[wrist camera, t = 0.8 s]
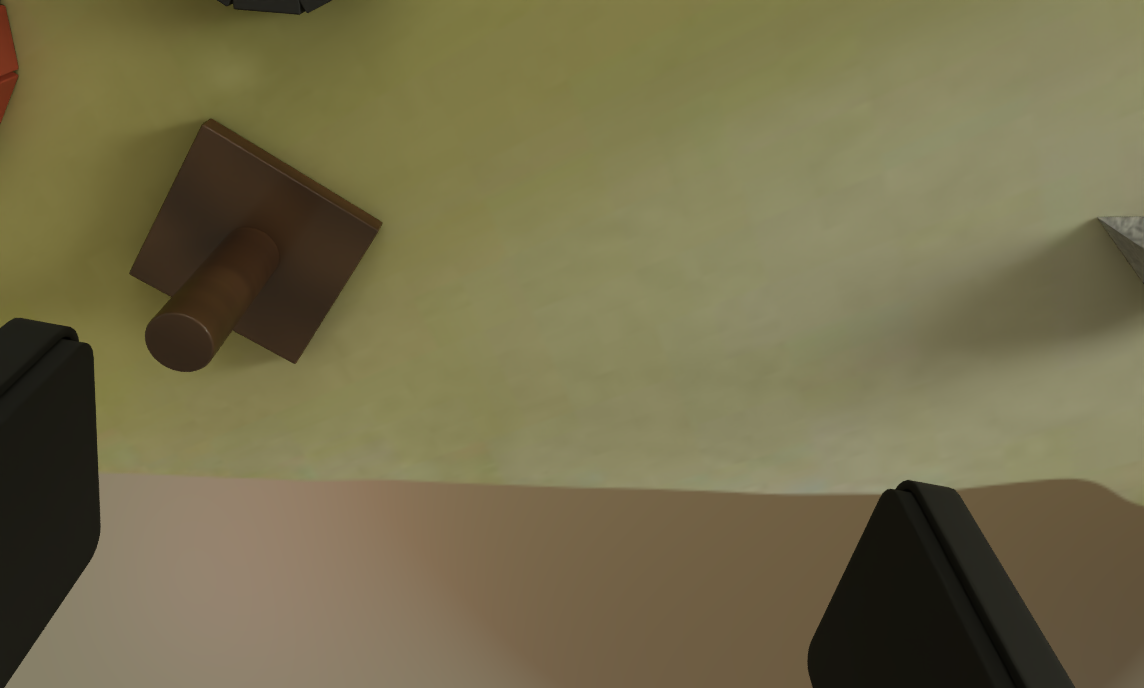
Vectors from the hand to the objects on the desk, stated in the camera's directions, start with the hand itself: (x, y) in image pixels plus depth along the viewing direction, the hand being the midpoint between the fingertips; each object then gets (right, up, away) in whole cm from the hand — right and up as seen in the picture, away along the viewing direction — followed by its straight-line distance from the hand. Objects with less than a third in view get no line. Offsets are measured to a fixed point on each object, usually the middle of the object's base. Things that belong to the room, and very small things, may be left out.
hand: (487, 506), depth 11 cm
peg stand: (-13, +6, +29) cm, 32 cm away
